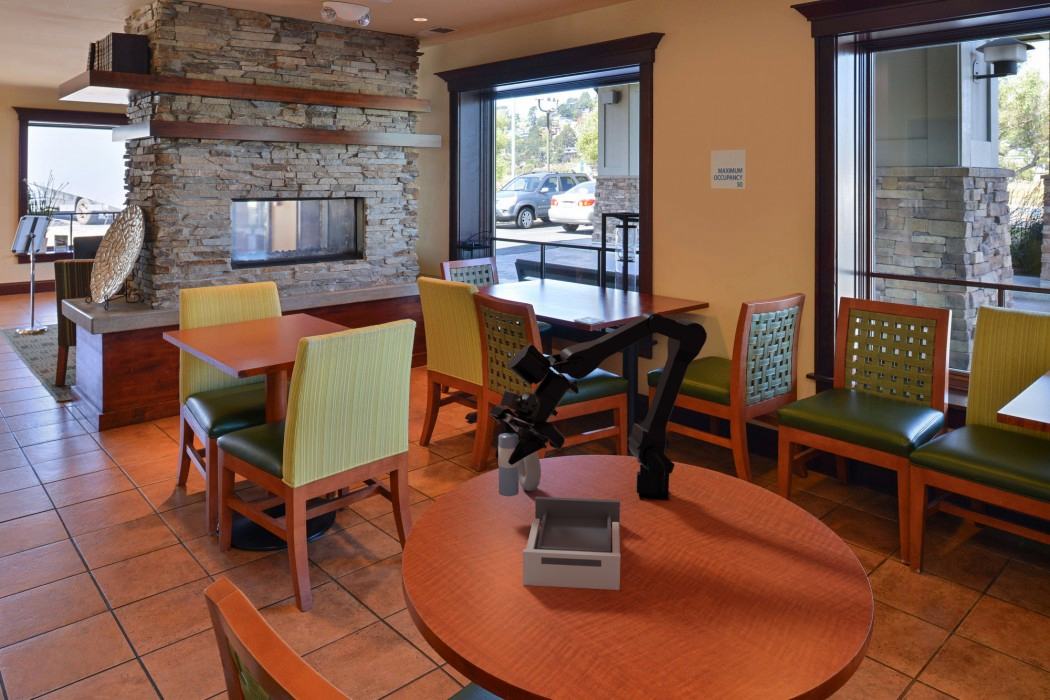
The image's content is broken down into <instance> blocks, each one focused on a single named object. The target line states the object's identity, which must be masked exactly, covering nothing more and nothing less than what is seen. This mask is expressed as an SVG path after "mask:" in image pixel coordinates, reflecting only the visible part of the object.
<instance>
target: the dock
mask: <svg viewBox="0 0 1050 700" xmlns="http://www.w3.org/2000/svg"><path fill="white" fill-rule="evenodd" d="M611 525H612V527H611V553H603V552H582V551H561V550H540V549H536V547H537V542H538V538H539V533H540V528H541V521H540V519H535V518H532V524H531V527H530V532H529V536H528V540H527V542H526V548H523V550H522V585H523V586H535V587H537V586H538V587H540V586H541V587H542V586H543V587H558V588H575V589H576V588H577V589H594V590H595V589H597V590H612V591H613V590H614V591H620V583H621V582H620V581H621V580H620V579H621V552H620V551H621V550H620V548H621V547H620V525H619V522H612V524H611Z"/></svg>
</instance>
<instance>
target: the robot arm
mask: <svg viewBox="0 0 1050 700" xmlns="http://www.w3.org/2000/svg"><path fill="white" fill-rule="evenodd" d="M653 334H659V335H662V336H664V337H668V338H667V343H666V344H667V345H666V347H667V357H666V358H667V359H666V362H665V364H664V366H663V370H662V373H661V374H660V378H659V381H658V384H657V386H656V389H655V392H654V395H653V398H652V400H651V403H650V405H649V408H648V411H647V414H646V417H645V419H644V420H643V421H642V422H641V423H640V424H638V423H636V422H635V423H633V424H632V429H631V433H630V435H629V437H627V442H628V441H629V443H628V449H629V451H630V454H632V455H633V456H634V457H635V458H636V460H637V463H639V470H638V471H636V488H635V489H636V493H637V494H638V499H640V500H654V501H656V500H659V501H670V493H669V492H670V491H669V490H670V475H671V474H672V473H673V472H674V468H675V463H674V462H673V461H672V460H670V459H669V458H668V456H666V454H665V452H666V449H667V448H666V447H667V425H668V423H669V420H670V417H671V415H672V411H673V409H674V407H675V404H676V401H677V399H678V396H679V393H680V389H681V388H682V384H683V382H684V379H685V376H686V373H687V370H688V368H689V365H690V364H691V363H692V362H693V361H694V360H695V359H696V358H697V357H698V356H699V354H700V353H701V352H702V349H703V347H704V345H705V344H706V342H707V337H708V334H707V331H706V328H705V327H704V326H703V325H702V324H700V323H698V322H695V321H693V320H690V319H687V318H680V319H677V320H675V319H673V318H669V317H667V316H663V315H661V314H659V313H656V312H654V311H646V312H645V313H643V314H642V315H641V316H639V317H637V318H635V319H634V320H631V321H629V322H627V323H625V324H623V325H621V326H620V327H618V328H616V329H614V330H612V331H610V332H608V333H607V334H604V335H602V336H601V337H598V338H597V339H593V340H590V341H586V342H580V343H577V344H574V345H570V346H567V347H566V348H564V349H562V351H561V352H559V353H554V354H550V355H546V356H545V355H544V354H542V353H541V351H540V350H538V348H537V347H536V346H535V345H533V344H532V343H531V342H529V343H528V344H527V345H526V346H524V347H523V348H521V349H520V350H519V351H516V353H514V355H513V356H512V357H511V359H510V360H509V362H508V365H507V368H508V369H509V370H511V372H513V373H514V374H515V375H516V376H518V377H519V378H521V380H522V381H524V383H526V384H528V385H529V386H531V385H533V384H534V385H537V384H538V385H537V386H536V388H535V389H534V391H533V392H529V391H528V392H524V393H523V394H518V393H516V392H512V391H508V390H505V389H504V391H503V395H502V397H501V399H500V403H499V405H498V404H497V405H494V406H493V407H492V409H491V411H490V412H489V415H490V416H491V417H492V418H493V419H494V420H495V421H496V422H497V423H498V424H499V425H500V429H501V431H500V434H503V433H514V434H517V435H518V436H519V443H518V445H517V447H516V448H515V450H514V451H513V453H512V455H511V457H510V459H509V461H508V463H509V464H510V465H513V464H515V463H516V462H518V461H520V460H521V459H523V458H525V457H527V456H528V455H530V454H532V453H534V452H538V451H540V450H542V449H547V447H548V446H547V445H546V444H547V442H549V446H550V447H551V448H553V449H555V450H558V451H560V450H561V449H562V448H563V446H564V445H565V443H566V440H565V439H566V438H565V435H564V434H563V433H562V432H561V431H560V430H559V429H558V428H557V426H555V424H554V423H552V422H551V423H550V422H548V420H549V419H550V418H551V416H552V417H555V418H556V416H557V415H558V414H559V412H558V411H557V410H556V409H557V408H558V406H559V405H560V403H561V401H562V400H563V399H564V397H565V396H566V395H567V393H568V394H570V395H575V394H576V395H577V394H579V393H580V392H579V387H578V382H577V380H581V379H585V378H586V377H587V376H589V375H590V374H592V373H593V372H594V371H596V370H597V368H599V367H600V365H601V364H602V363H603V362H605V360H606V359H608V358H610V357H612V356H613V355H615V354H618V353H619V352H621V351H622V350H625V349H627V348H628V347H631V346H633V345H634V344H636V343H638V342H640V341H643V339H646V338H648V337H649V336H652V335H653ZM555 371H556V372H557V373H556V372H555ZM564 374H566V375H567V376H569V377H570V378H572V379H575V380H570V379H569V378H568V377H566V376H565V375H564ZM505 406H506V407H505ZM519 429H521V434H519V433H518V432H519ZM498 445H499V442H498V444H497V446H496V450H495V455H494V457H495V458H496V459H497V460H498Z"/></svg>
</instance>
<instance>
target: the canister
mask: <svg viewBox="0 0 1050 700" xmlns="http://www.w3.org/2000/svg"><path fill="white" fill-rule="evenodd" d="M519 442H520V440H519V436H518V435H517V434H514V433H503V434H501V433H500V434H499V435H498V443H499V445H498V444H497V447H498V459H497V460H498V463H497V465H498V495H500V496H502V497H513V496H514V497H515V496H517V495H519V493H520V492H519V486H520V482H519V461H518V462H516V463H515V464H513V465H510V464H509V463H508V461H509V459H510V457H511V455H512V453H513V451H514V450H515V448H516V447H517V445H518V443H519Z"/></svg>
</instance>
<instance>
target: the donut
mask: <svg viewBox="0 0 1050 700" xmlns="http://www.w3.org/2000/svg"><path fill="white" fill-rule="evenodd" d="M541 468H542V467H541V460H540V457H539V454H538V451H536V452H534V453H532V454H530V455H528V456H527V457H525V458H523V459H521V460H520V461H519V485H520V486H521V488H522V489H523V490H525V491H527V492H533V491H534V490H536V489H537V488H538V487H539V485H540V483H541V479H542V477H541V476H542V469H541Z"/></svg>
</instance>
